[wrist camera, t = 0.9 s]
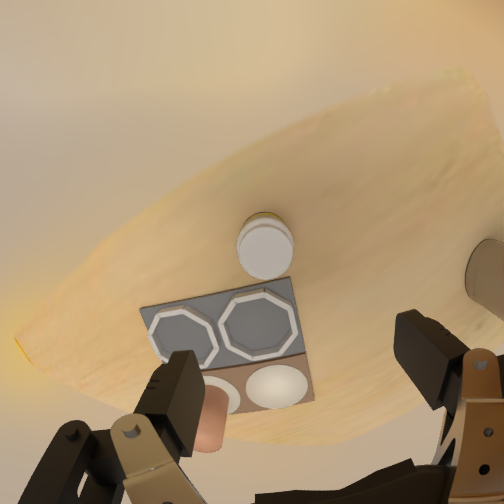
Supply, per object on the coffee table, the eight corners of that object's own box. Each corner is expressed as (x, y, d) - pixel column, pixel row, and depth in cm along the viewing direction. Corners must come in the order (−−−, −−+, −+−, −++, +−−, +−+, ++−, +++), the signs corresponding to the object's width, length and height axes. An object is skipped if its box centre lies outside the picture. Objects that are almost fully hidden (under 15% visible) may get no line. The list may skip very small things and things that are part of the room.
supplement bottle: (277, 263, 28) (282, 294, 20) (234, 247, 28) (223, 272, 20) (294, 221, 27) (308, 236, 19) (251, 204, 27) (246, 211, 19)
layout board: (289, 276, 29) (299, 313, 20) (314, 398, 33) (323, 445, 24) (140, 308, 30) (106, 345, 22) (192, 414, 34) (179, 458, 26)
